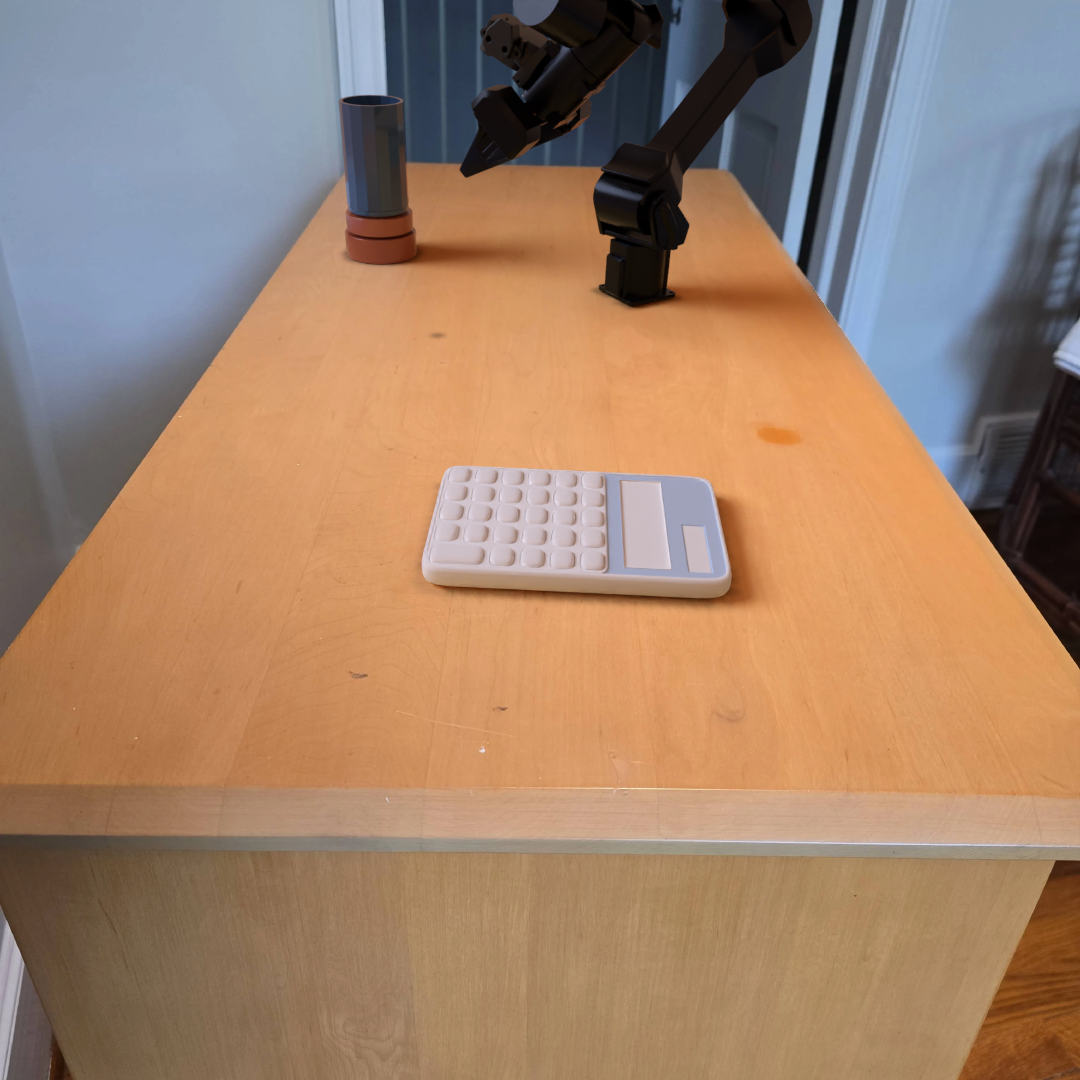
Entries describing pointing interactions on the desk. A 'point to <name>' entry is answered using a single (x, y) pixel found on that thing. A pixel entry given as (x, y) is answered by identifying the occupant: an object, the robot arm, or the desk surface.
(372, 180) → the tumbler
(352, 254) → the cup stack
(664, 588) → the calculator
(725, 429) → the desk surface
